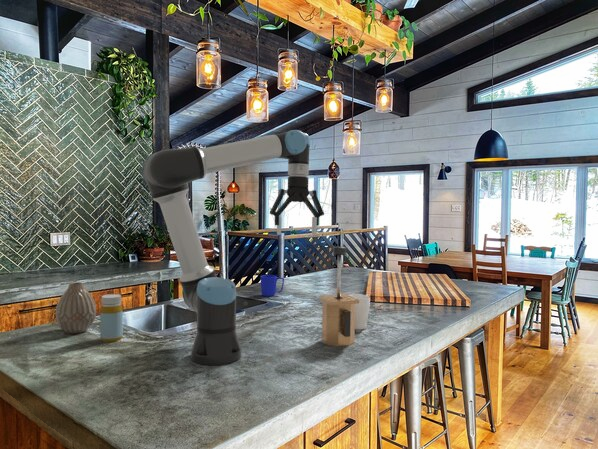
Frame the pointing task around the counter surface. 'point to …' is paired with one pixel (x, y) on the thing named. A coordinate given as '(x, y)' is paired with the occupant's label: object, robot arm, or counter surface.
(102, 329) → the bottle
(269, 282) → the mug
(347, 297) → the block
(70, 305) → the vase
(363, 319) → the cup
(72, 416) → the counter surface
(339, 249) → the plunger
